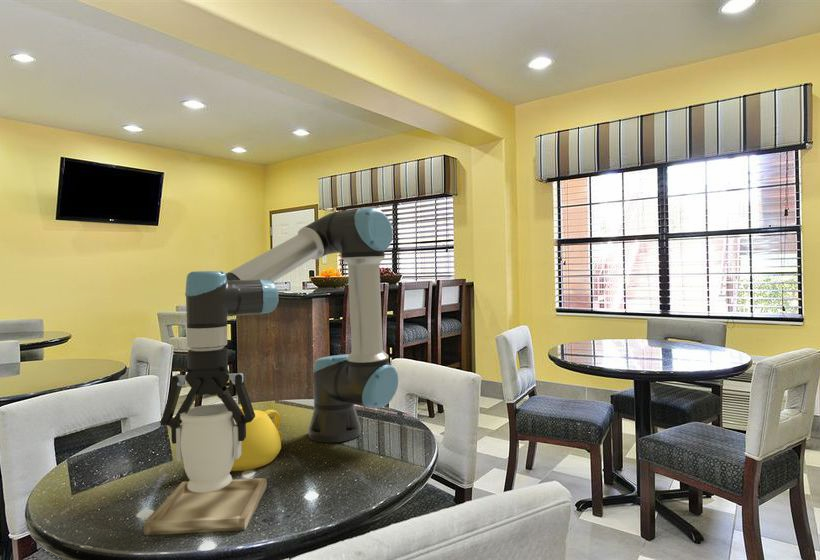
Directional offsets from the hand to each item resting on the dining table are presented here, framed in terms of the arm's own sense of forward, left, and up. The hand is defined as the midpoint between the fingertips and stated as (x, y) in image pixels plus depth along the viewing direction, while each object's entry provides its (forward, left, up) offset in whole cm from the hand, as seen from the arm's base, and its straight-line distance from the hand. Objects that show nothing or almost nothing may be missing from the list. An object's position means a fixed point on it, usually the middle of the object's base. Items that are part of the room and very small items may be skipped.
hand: (209, 457), depth 99 cm
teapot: (+1, -26, -11) cm, 28 cm away
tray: (0, 0, -10) cm, 10 cm away
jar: (0, 0, -6) cm, 6 cm away
